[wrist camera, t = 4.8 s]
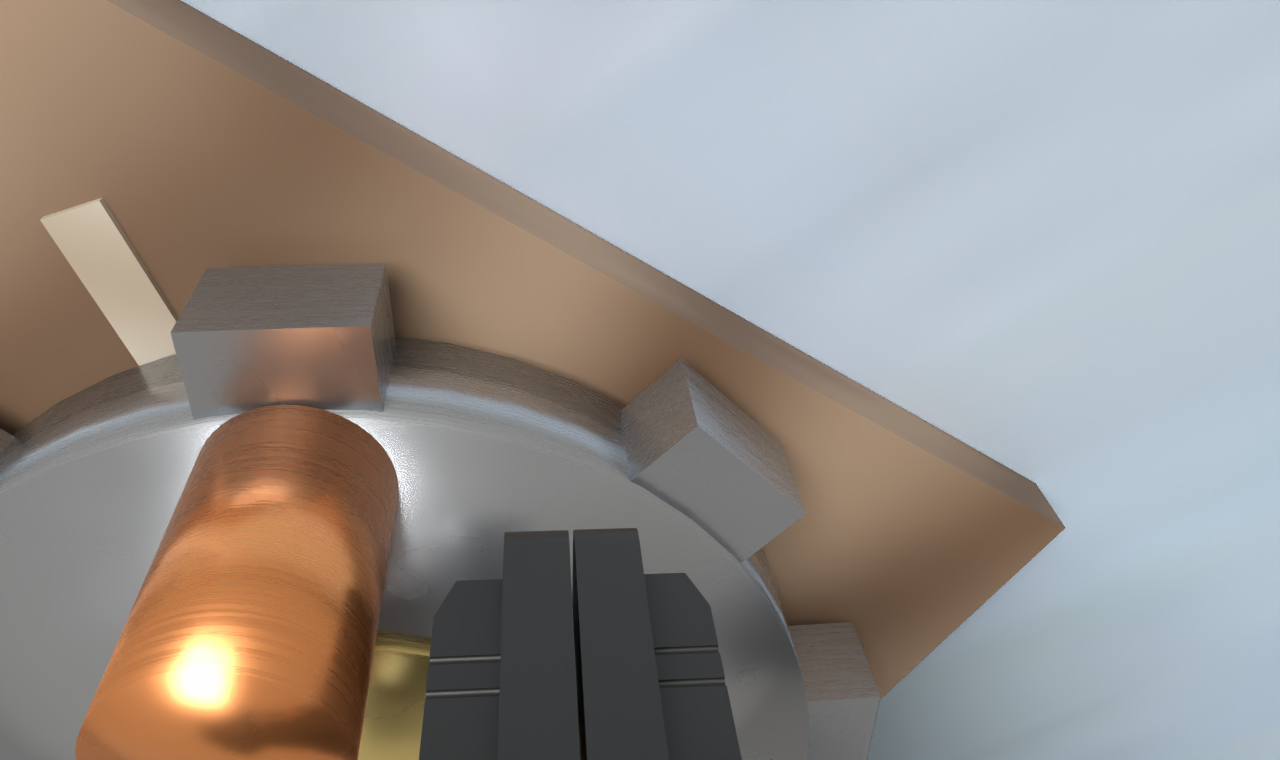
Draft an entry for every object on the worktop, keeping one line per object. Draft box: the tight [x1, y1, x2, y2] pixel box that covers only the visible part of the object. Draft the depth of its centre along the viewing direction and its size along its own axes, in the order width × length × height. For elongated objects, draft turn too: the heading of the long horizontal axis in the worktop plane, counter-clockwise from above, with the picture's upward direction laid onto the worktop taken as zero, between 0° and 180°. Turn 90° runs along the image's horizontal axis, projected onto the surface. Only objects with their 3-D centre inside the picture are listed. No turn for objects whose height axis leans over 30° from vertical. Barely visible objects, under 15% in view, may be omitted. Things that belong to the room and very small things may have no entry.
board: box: [0, 0, 1065, 699], centre depth 18 cm, size 17×17×1 cm
